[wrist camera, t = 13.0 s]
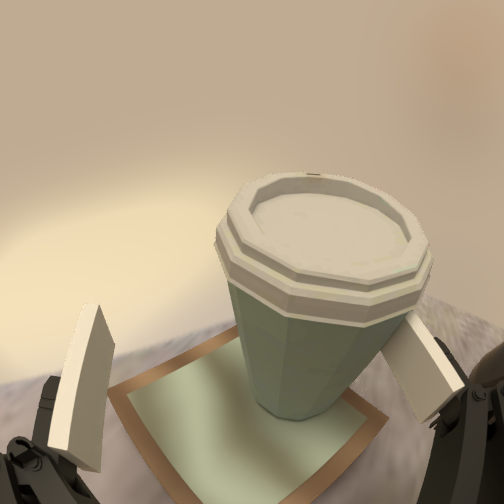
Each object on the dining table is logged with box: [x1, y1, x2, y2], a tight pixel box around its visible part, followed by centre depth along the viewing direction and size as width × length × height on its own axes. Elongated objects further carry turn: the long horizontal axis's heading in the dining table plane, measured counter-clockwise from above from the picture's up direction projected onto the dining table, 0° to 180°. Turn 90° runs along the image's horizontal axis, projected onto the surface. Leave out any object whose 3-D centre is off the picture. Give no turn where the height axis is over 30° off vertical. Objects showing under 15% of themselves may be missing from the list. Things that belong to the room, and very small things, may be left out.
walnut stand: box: [107, 325, 389, 504], centre depth 20 cm, size 16×16×6 cm
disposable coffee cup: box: [214, 172, 434, 420], centre depth 16 cm, size 11×11×15 cm
